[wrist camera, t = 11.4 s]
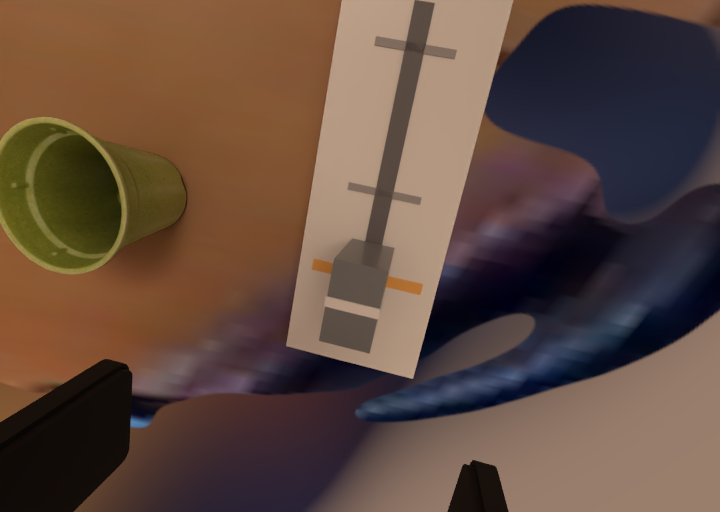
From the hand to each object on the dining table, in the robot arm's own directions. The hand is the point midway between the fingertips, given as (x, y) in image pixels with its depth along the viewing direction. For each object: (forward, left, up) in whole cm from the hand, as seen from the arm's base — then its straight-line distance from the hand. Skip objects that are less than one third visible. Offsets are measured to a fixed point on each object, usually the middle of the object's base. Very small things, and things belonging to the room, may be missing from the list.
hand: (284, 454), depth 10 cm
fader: (0, 0, -17) cm, 17 cm away
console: (0, -6, -20) cm, 21 cm away
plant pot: (+19, -2, -20) cm, 28 cm away
